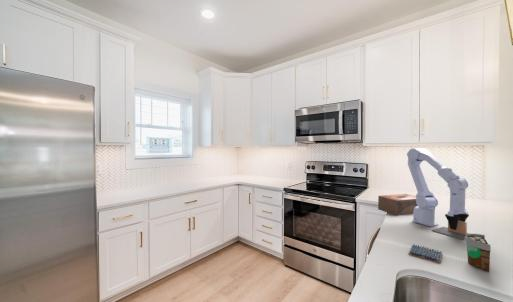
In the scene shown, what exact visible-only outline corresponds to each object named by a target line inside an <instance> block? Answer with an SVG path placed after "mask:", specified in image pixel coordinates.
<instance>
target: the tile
mask: <svg viewBox="0 0 513 302" xmlns="http://www.w3.org/2000/svg"><path fill="white" fill-rule="evenodd" d="M447 228H448V230H449V231H453V232H456V233H460V234H463V235H467V233H468V232H467V231H468V222H466V221H465V222H463V221H458V224H457V228H456V230H453V229H450V226H449V222H448V221H447Z"/></svg>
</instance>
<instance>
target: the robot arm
mask: <svg viewBox="0 0 513 302" xmlns="http://www.w3.org/2000/svg"><path fill="white" fill-rule="evenodd" d="M406 155H407V166H408V168H409V171H410V175H411V178H412V180H413V183H414V186H415V188H416V191H417V193H416V194H415V196H416V203H417V205H418V206H419V207H418V206H416V207H415V208H414V212H413V214H412V215H413V216H412V217H413V220H412V222H413V223H417V224H420V225H424V226H428V227H435V226H437V225H439V223H436V222H435V219H436V207H438V205H439V200H438V199H437V197H436V196H435V195H434V193H433V192H432V191H430V190H429V189H430V188H429V187H428V184H427V182H426V178H425V176H424V174H423V171H422V168H421V164H422V162H424V161H425V162H427V163H428V164H429V165H430V166H431V167H433V168H434V169H435V170H436V171H437V175H438V176H439V177H440V178H441V179H443V180H444V182H446V183H447V187H448V188H449V209H448V211H447V213H445V214H444V217H445V218H446V220H447V223H448V222H449V226H450V229H453V230H456V228H457V224H458V221H463V222H466V221H467V219H468V217H469V216H470V214H469V213H468V212H467V209H466V189H467V188H468V187H469V183H468V181H467V180H466V179H465V178H462V177H461V176H460V175H457V174H456V173H455V172H454V171H453V168H451V167H447V166H443V164H442V163H441V162H439V161H438V159H436V157H435V156H434V155H433V154H432V152H431V151H430V150H428V149H427V148H424V147H423V148H416V147H415V148H410V149H409V150H408V152H407V153H406Z"/></svg>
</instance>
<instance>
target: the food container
mask: <svg viewBox="0 0 513 302" xmlns="http://www.w3.org/2000/svg"><path fill="white" fill-rule="evenodd" d="M485 236H486V235H485V234H481V233H469V234H467V235H466V236H465V239H463V241H464V242H465V243H466V251H467V255H466V256H467V263H468V264H469V265H471V267H474V268H475V269H479V270H480V271H484V272H487V273H490V264H491V263H490V262H491V261H490V260H491V250H492V249H491V244H489V243H488V241H487V240H486V237H485Z"/></svg>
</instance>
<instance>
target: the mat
mask: <svg viewBox="0 0 513 302" xmlns="http://www.w3.org/2000/svg"><path fill="white" fill-rule="evenodd" d="M431 232H433V233H438V234H440V235H444V236H448V237H451V238H454V239H458V240H461V241H462V240H464V239H465V236H466V235H463V234H460V233H456V232H453V231H449V230H448V226H447V227H446V226H442V227H439V228H438V227H437V228H435V229H432V230H431ZM467 234H470V232H469V233H468V232H467Z"/></svg>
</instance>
